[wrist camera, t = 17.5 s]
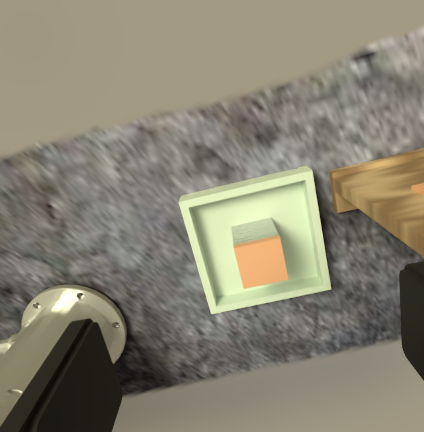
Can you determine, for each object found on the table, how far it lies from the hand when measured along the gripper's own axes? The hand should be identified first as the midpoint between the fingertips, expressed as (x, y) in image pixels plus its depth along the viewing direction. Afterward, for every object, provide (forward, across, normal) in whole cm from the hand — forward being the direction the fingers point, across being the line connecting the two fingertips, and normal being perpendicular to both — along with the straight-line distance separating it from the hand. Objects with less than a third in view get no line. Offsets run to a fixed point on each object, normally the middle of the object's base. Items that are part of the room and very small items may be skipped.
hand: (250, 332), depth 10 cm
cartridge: (+26, -2, +8) cm, 28 cm away
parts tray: (+27, -2, +8) cm, 28 cm away
